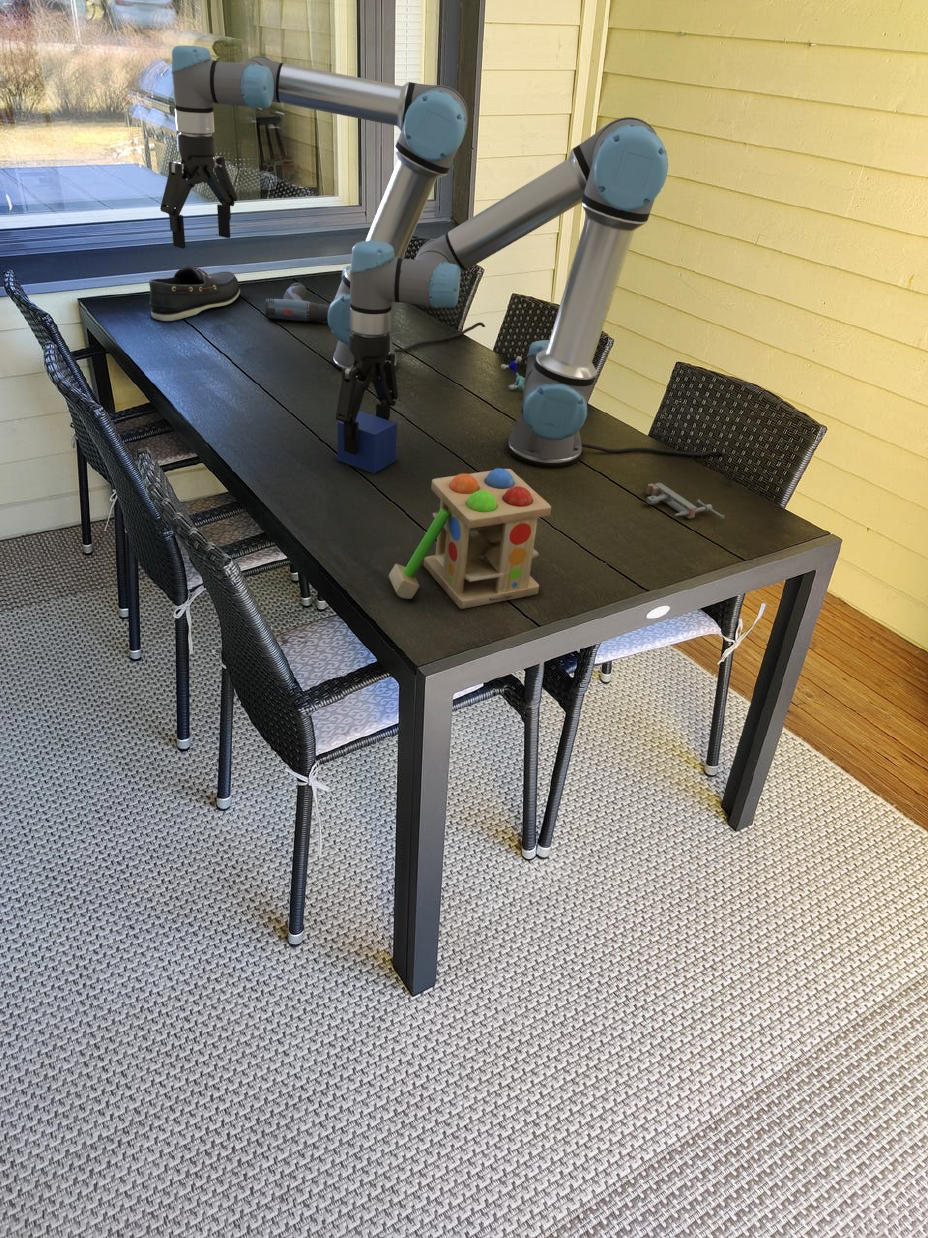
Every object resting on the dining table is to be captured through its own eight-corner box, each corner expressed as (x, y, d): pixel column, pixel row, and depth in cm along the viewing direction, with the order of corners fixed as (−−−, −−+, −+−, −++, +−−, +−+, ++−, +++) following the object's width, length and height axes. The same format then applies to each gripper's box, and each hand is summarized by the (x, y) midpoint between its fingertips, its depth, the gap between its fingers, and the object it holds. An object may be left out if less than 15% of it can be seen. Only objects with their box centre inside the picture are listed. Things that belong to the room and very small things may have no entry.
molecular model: (546, 391, 223) (532, 348, 222) (508, 405, 227) (494, 363, 225) (558, 390, 234) (545, 349, 232) (521, 403, 237) (508, 363, 236)
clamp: (635, 486, 189) (675, 478, 194) (633, 496, 191) (673, 488, 195) (686, 521, 179) (727, 512, 184) (684, 532, 180) (724, 522, 185)
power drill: (344, 304, 276) (335, 327, 259) (277, 298, 275) (264, 321, 258) (344, 285, 273) (335, 306, 256) (277, 279, 272) (264, 300, 255)
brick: (359, 448, 199) (360, 410, 194) (395, 461, 195) (397, 423, 191) (337, 460, 193) (337, 421, 189) (373, 473, 190) (374, 434, 185)
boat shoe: (257, 300, 274) (255, 261, 268) (168, 323, 250) (164, 281, 244) (224, 291, 279) (221, 254, 274) (133, 313, 256) (128, 272, 250)
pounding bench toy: (410, 620, 149) (416, 516, 139) (375, 573, 160) (379, 473, 149) (540, 594, 159) (555, 495, 148) (499, 551, 169) (510, 455, 159)
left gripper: (224, 125, 210) (229, 229, 222) (135, 135, 192) (146, 247, 204) (251, 131, 207) (254, 235, 219) (163, 141, 189) (172, 255, 201)
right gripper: (388, 313, 189) (383, 422, 202) (315, 340, 173) (315, 456, 186) (420, 322, 186) (414, 432, 199) (349, 351, 170) (347, 468, 183)
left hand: (202, 241), depth 212 cm, fingers open, 13 cm apart
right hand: (366, 444), depth 192 cm, fingers open, 9 cm apart
